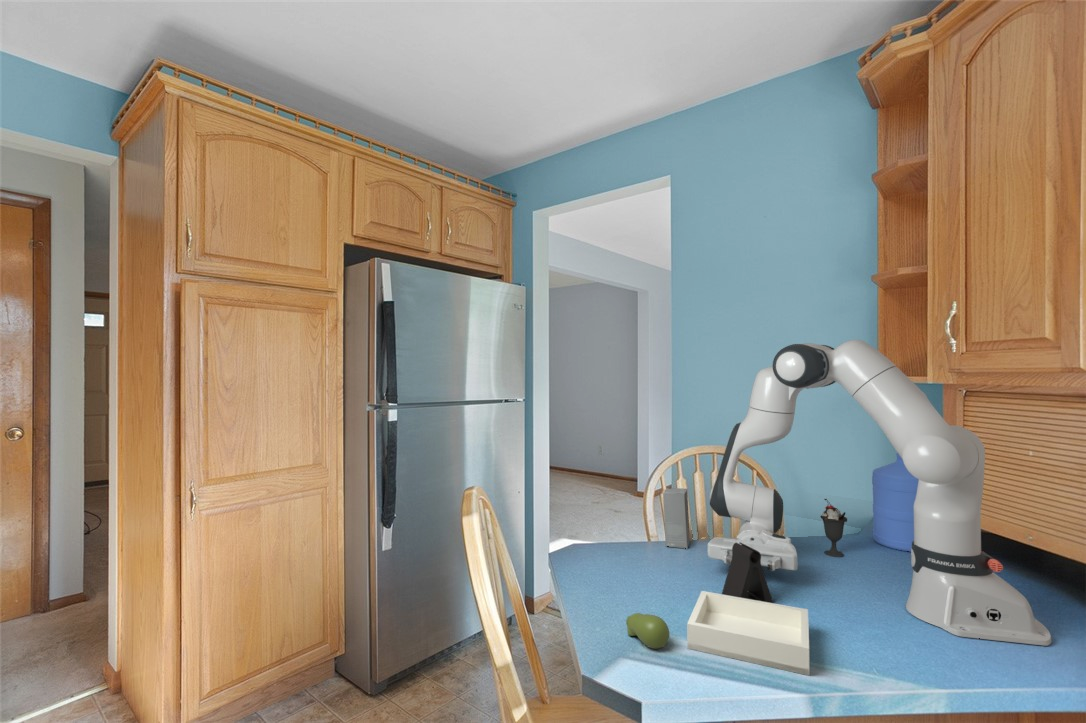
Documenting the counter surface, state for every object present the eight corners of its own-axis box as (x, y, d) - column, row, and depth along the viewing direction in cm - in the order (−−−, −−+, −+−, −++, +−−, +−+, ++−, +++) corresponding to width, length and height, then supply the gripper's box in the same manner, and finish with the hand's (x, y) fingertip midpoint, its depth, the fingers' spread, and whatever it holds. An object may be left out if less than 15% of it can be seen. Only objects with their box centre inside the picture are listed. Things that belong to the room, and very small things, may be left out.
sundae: (816, 549, 149) (815, 496, 150) (841, 550, 148) (840, 497, 149) (825, 557, 143) (824, 502, 143) (852, 558, 142) (851, 503, 142)
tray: (808, 632, 102) (807, 609, 102) (809, 675, 88) (809, 648, 88) (701, 612, 111) (701, 590, 111) (687, 648, 96) (687, 623, 96)
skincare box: (687, 549, 149) (687, 493, 150) (662, 546, 152) (662, 491, 152) (690, 540, 157) (690, 487, 158) (666, 538, 160) (666, 485, 160)
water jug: (950, 555, 144) (948, 453, 145) (887, 551, 147) (886, 451, 148) (920, 537, 160) (918, 445, 160) (863, 534, 163) (862, 444, 163)
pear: (649, 624, 94) (617, 611, 103) (652, 655, 93) (620, 640, 102) (673, 617, 97) (640, 605, 106) (677, 647, 96) (644, 633, 105)
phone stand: (737, 609, 112) (737, 552, 112) (721, 597, 118) (720, 544, 118) (773, 604, 115) (772, 549, 115) (755, 593, 120) (754, 540, 121)
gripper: (711, 528, 138) (702, 543, 126) (797, 538, 129) (797, 556, 117) (711, 552, 138) (702, 570, 125) (797, 564, 129) (797, 585, 116)
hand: (748, 563), depth 121 cm, fingers open, 8 cm apart
